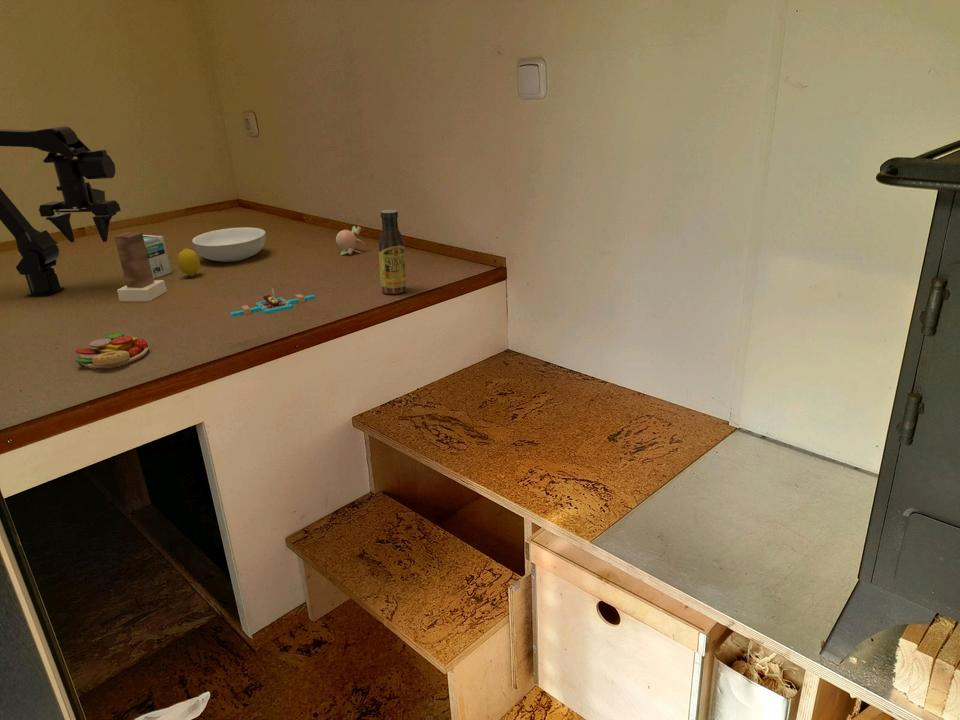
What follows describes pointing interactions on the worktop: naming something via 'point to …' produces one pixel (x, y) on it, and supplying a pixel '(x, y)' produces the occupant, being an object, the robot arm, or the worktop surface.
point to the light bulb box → (157, 255)
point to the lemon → (188, 262)
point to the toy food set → (112, 351)
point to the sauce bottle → (391, 255)
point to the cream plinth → (142, 292)
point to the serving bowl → (230, 243)
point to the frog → (348, 240)
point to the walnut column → (134, 259)
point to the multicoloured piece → (272, 304)
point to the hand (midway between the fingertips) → (88, 241)
